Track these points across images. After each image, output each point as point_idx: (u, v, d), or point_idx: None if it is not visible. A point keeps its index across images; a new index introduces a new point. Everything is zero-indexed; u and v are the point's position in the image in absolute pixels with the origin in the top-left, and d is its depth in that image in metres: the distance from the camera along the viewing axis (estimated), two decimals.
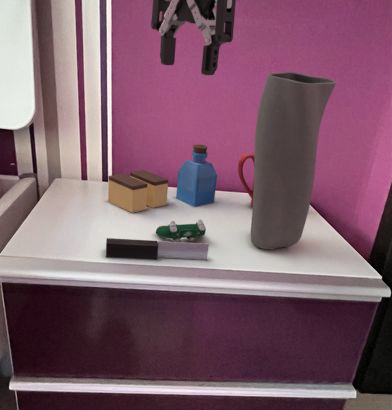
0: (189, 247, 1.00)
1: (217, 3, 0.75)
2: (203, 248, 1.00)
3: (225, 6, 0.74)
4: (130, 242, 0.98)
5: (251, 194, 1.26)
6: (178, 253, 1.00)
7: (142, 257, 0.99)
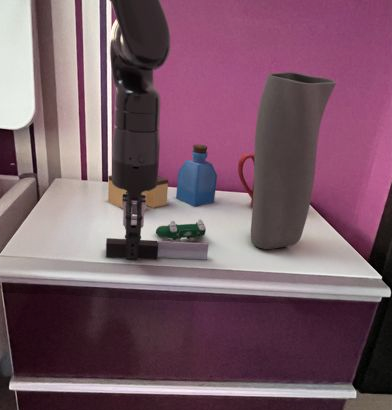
0: (189, 247, 1.00)
1: None
2: (203, 248, 1.00)
3: (129, 224, 0.90)
4: None
5: (251, 194, 1.26)
6: (178, 253, 1.00)
7: (142, 257, 0.99)
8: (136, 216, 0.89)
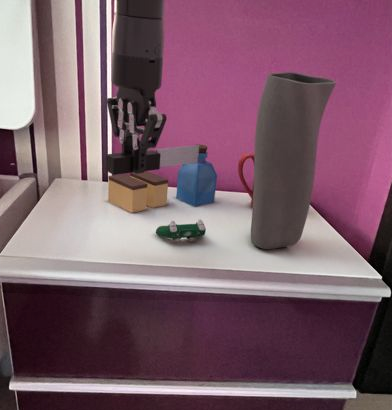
0: (183, 151, 0.96)
1: (147, 121, 0.83)
2: (195, 150, 0.98)
3: (153, 127, 0.84)
4: None
5: (251, 194, 1.26)
6: (174, 160, 0.96)
7: (146, 169, 0.92)
8: (161, 116, 0.83)
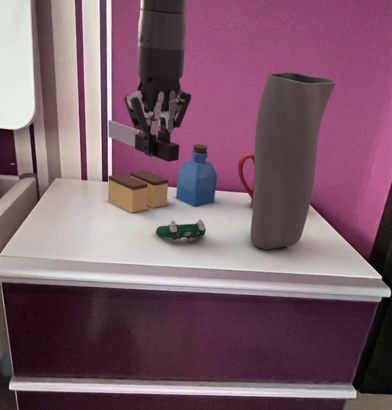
0: None
1: (185, 101, 0.97)
2: None
3: None
4: (158, 139, 0.98)
5: (251, 194, 1.26)
6: None
7: None
8: None
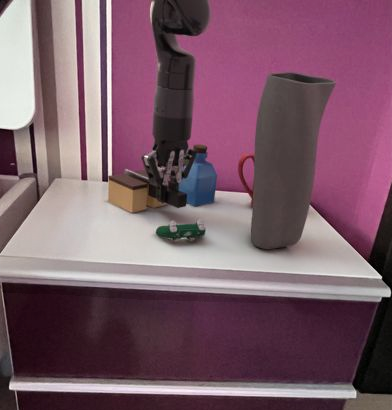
0: None
1: (191, 156, 1.14)
2: None
3: None
4: (169, 188, 1.15)
5: (251, 194, 1.26)
6: None
7: None
8: None
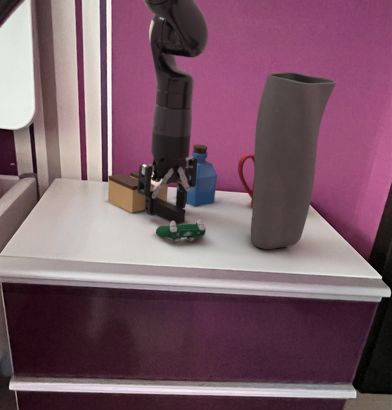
0: None
1: (193, 166, 1.16)
2: None
3: None
4: (168, 204, 1.17)
5: (251, 194, 1.26)
6: None
7: None
8: None
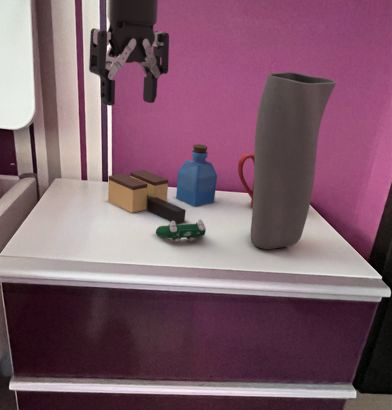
0: None
1: (163, 43, 0.90)
2: None
3: None
4: (168, 204, 1.17)
5: (251, 194, 1.26)
6: None
7: None
8: None
